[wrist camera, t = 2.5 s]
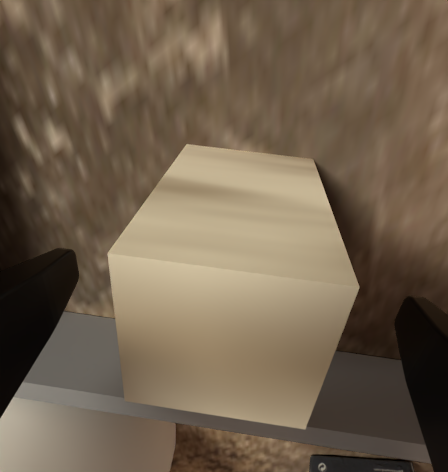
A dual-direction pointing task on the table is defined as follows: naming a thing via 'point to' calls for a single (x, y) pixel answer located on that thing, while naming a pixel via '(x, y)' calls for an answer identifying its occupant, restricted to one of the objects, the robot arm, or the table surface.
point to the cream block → (231, 288)
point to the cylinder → (81, 440)
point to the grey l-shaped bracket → (316, 433)
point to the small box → (357, 465)
